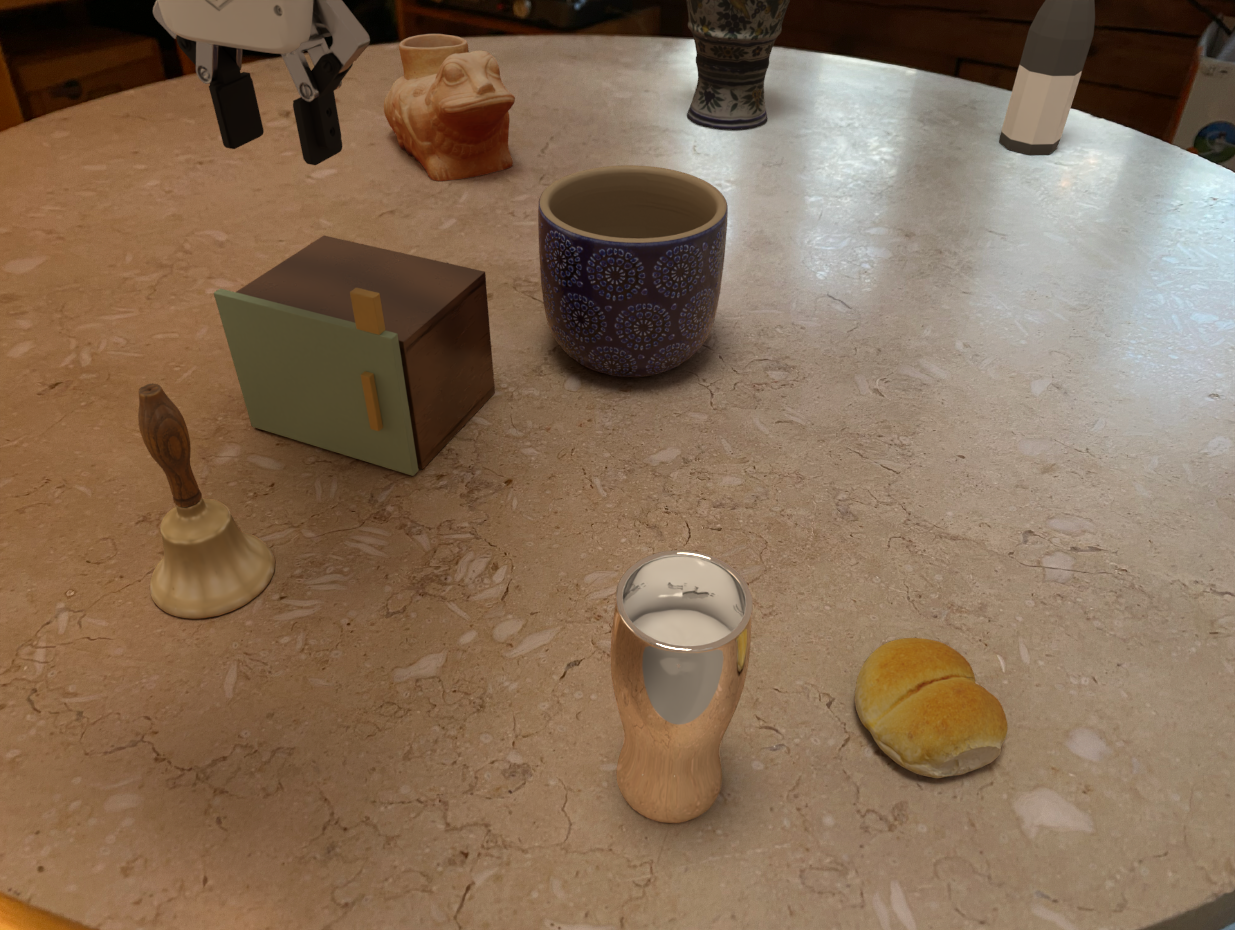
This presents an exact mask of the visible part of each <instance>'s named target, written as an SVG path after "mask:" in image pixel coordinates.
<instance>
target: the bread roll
mask: <svg viewBox="0 0 1235 930" xmlns="http://www.w3.org/2000/svg"><path fill="white" fill-rule="evenodd" d="M854 704H855V710H856V712H857V715H858V718H859V720H860V722H861V724H862V725H863V726H864V727H865V729H866V730H868V731H869V732H870V734H871V736H872V738H873V740H874V742H875V743H876V745H877V746H878V748H879V749H880V750H881V751H882V752H883V753H884V754H885V755H886V756H888V758H890V759H891V760H892V761H893V762H895V763H896V764H897V765H899V766H901V767H903V768H904V769H906V770H907V771H910V772H912V773H913V774H917V775H920V776H925V777H927V778H933V779H941V778H946V777H952V776H961V775H964V774H965V775H966V774H967V773H970V772H973V771H975V770H978V769H981V768H984V767H985V766H986V765H989V764H991V763H992V762H994V761H995V760H996V759H997V758H998V757H999V756H1000V754H1001V753H1002V746H1003V744H1004V742H1005V740H1006V737H1007V733H1008V720H1007V716H1006V715H1007V714H1006V712H1005V710H1004V708H1003V706H1002V704H1001V702H1000V700H999V699H998V698H997V696H995V694H994V695H993V693H991V692H989V691H988V690H987V689H986V688H985V687H983V686H981V685H980V684H978V683H976V677H975V672H974V670H973V667H972V665H971V664H970V662H969V661H968V660H967V658H966V657H965V656H963V655H962V654H961V653H960V652H958V650H956V649H955V648H952V647H951V646H950V645H948V644H946V643H944V642H941V641H938V640H934V639H929V638H920V637H903V638H897V639H894V640H890V641H888V642H885V643H884V644H881V645H879V646H878V647H877V648H876V649H875V650H873V652H872V653H871V654H870V655H868V657H867V658H866V660H865V661H864V663H863V664H862V666H861V667H860V669H859V672H858V674H857V678H856V682H855V688H854Z"/></svg>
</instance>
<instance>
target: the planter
mask: <svg viewBox="0 0 1235 930" xmlns="http://www.w3.org/2000/svg"><path fill="white" fill-rule="evenodd" d="M537 210H538V211H537V217H538V218H537V227H538V229H537V230H538V231H537V232H538V256H539V270H540V283H541V284H540V285H541V293H542V294H541V295H542V301H543V307H544V308H543V309H544V314H545V319H546V323H547V325H548V328H549V332H550V333H551V335H552V336H553V339H554V340H555V342H556V343H557V344H558V345H559V347H560V348H561V350H563V351H564V353H565V354H567V355H568V356H569V357H570V358H572V359H573V360H574V361H575V362H577V363H578V364H579V365H581V366H583V367H584V368H587V369H589V370H592V371H595V372H596V373H600V374H604V375H608V376H612V377H613V376H614V377H621V378H641V377H642V378H643V377H650V376H654V375H658V374H661V373H665V372H668V371H671V370H673V369H675V368H677V367H679V366H680V365H682V364H684V363H685V362H686V361H688V360H689V359H691V358H692V357H693V356H694V355H695V354H696V353H697V352H698V351H699V350H700V348H702V347H703V345H704V344H705V342H706V341H707V339H708V338H709V336H710V334H711V331H712V328H713V325H714V323H715V320H716V315H717V310H718V305H719V300H720V296H721V289H722V281H723V280H722V279H723V272H724V264H725V255H726V246H727V245H726V244H727V234H728V217H729V215H728V214H729V207H728V202H727V200H726V197H725V196H724V194H723V193H722V192H721V191H720V190H719V189H718V188H717V187H716V186H714V185H713V184H711V183H710V182H708V181H706V180H704V179H702V178H700V177H698V176H695V175H692V174H689V173H686V172H683V171H679V170H675V169H671V168H665V167H658V166H651V165H650V166H649V165H633V164H632V165H629V164H628V165H622V164H621V165H608V166H600V167H592V168H588V169H584V170H579V171H575V172H573V173H569V174H567V175H565V176H563V177H560V178H558V179H557V180H555V181H554V182H552V183H550V184H549V185H548V186H547V187H546V188H545V189H544V190H543V191H542V192H541V194H540V196H539V199H538V209H537Z"/></svg>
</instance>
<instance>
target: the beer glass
mask: <svg viewBox="0 0 1235 930" xmlns="http://www.w3.org/2000/svg"><path fill="white" fill-rule="evenodd" d="M753 606H754V601H753V595H752V591H751V589H750V587H749V585H748V583H747V581H746V580H745V579H744V577H743V576H742V575H741V574H740V573H739V572H738V571H737V570H736V569H735V568H734V567H732V566H731V565H730V564H729V563H727V562H725V561H723V560H721V559H720V558H718V557H716V556H714V555H710V554H707V553H705V552H700V551H696V550H687V549H673V550H672V549H671V550H664V551H659V552H656V553H653V554H650V555H647V556H645V557H643V558H640V559H639V560H638V561H636V562H635V563H633V564H632V565H631V566H629V567H628V569H627V570H626V571H624V573H623V575H622V576H621V577H620V579H619V582H618V584H617V586H616V590H615V606H614V611H613V619H612V627H611V636H610V651H609V653H610V676H611V681H612V688H613V694H614V699H615V701H616V705H617V710H618V714H619V718H620V721H621V724H622V729H623V733H624V735H623V736H624V738H623V739H624V740H623V744H622V747H621V750H620V752H619V756H618V759H617V764H616V770H615V771H616V775H615V776H616V782H617V786H618V788H619V791H620V794H621V795H622V798H623V799H624V800H625V802H626V804H628V805H629V806H630V807H631V808H632V809H633V810H634V811H635V812H636V813H638V814H640V815H641V816H642V817H645V818H646V819H649V820H652V821H655V822H659V823H664V824H665V823H666V824H678V823H679V824H680V823H685V822H688V821H691V820H693V819H696V818H698V817H700V816H702V815H703V814H705V813H706V812H707V811H708V810H709V809H710V808H711V807H712V806H713V804H714V803H715V802H716V800H717V799H718V797H719V795H720V792H721V789H722V785H723V784H722V783H723V769H722V762H721V756H720V748H721V743H722V741H723V739H724V736H725V734H726V732H727V729H728V727H730V724H731V722H732V720H733V716H734V714H735V712H736V710H737V707H738V705H739V702H740V699H741V697H742V694H743V692H744V688H745V683H746V678H747V674H748V669H749V663H750V653H751V641H752V640H751V639H752V615H753Z"/></svg>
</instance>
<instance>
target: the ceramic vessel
mask: <svg viewBox="0 0 1235 930" xmlns="http://www.w3.org/2000/svg"><path fill="white" fill-rule="evenodd" d="M398 50H399V55H400V61H401V64H402V70H403V75H401V76H400V77H398V78H397V79H396V80H395V81H394V82H393V83H392V86H391V87H390V90H389V91H388V93H387V94H386V95H385V98H384V101H383V113H384V116H385V118H386V121H387V122H388V125H389V126H390V128H391V130H392V131H393V133H394V134H395V136H396V140H397V143H398V146H399V149H400V150H402V151H403V152H406V153H407V155H408V156H409V157H412V158H413V159H414V161H416V162H418V163H420V165H421V166H422V168H423V169H424V170H425V172H426V173H427V176H428V178H429V179H430V180H432V181H437V182H446V181H456V180H463V179H469V178H470V179H471V178H475V177H480V176H483V175H484V176H485V175H489V174H492V173H496V172H500V171H504V170H507V169H510V168H511V167H513V165H514V160H513V157H512V156H511V155H512V154H511V151H510V148H509V147H510V146H509V137H510V136H509V135H510V130H509V129H510V113H509V111H510V110H511V109H512V107H513V106H514V104H515V101H516V96H515V95H513V94H512V93H511V92H510V91H509V90H508V89H507V88H506V86H505V85H504V82H503V81H502V78H501V71H500V66H499V63H498V61H497V59H496V58H495V57H494V56H493V55H492V54H491V53H490V52H488V51H486V50H474V51H470V50H469V43H468V41H467V40H466V39H464V38H463V37H460V36H458V35H450V34H443V33H425V34H417V35H413V36H409V37H407V38H404V39H402V40H401V41H400V42H399V44H398ZM469 51H470V52H469Z"/></svg>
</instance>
